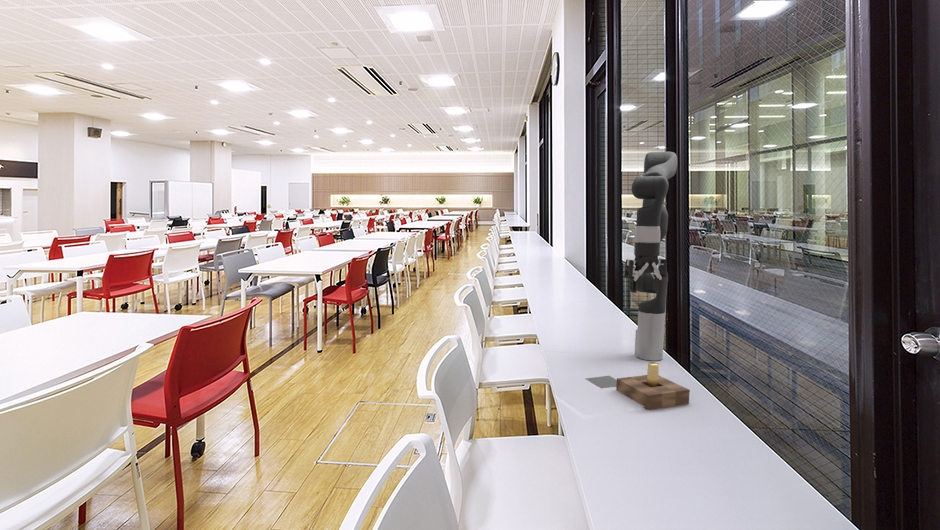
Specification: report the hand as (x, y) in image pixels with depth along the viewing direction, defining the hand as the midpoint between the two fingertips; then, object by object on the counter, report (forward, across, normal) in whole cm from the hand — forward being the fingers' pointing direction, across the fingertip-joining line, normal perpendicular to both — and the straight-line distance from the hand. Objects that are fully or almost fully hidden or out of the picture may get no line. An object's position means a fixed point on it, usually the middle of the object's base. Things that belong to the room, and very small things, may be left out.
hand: (644, 291), depth 154 cm
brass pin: (+28, +8, +15) cm, 33 cm away
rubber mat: (+28, +14, +1) cm, 31 cm away
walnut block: (+28, +8, +15) cm, 33 cm away
